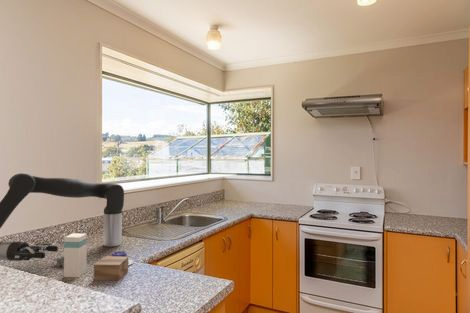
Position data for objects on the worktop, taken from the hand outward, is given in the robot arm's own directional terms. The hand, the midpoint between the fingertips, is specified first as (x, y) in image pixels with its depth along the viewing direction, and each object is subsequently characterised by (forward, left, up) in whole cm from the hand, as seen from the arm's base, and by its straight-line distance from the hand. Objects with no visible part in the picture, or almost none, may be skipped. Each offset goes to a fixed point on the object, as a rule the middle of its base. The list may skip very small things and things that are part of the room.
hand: (51, 251), depth 127 cm
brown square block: (0, +25, -9) cm, 27 cm away
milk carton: (0, +10, -9) cm, 14 cm away
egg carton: (-13, +1, -9) cm, 16 cm away
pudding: (-13, +23, -10) cm, 28 cm away
